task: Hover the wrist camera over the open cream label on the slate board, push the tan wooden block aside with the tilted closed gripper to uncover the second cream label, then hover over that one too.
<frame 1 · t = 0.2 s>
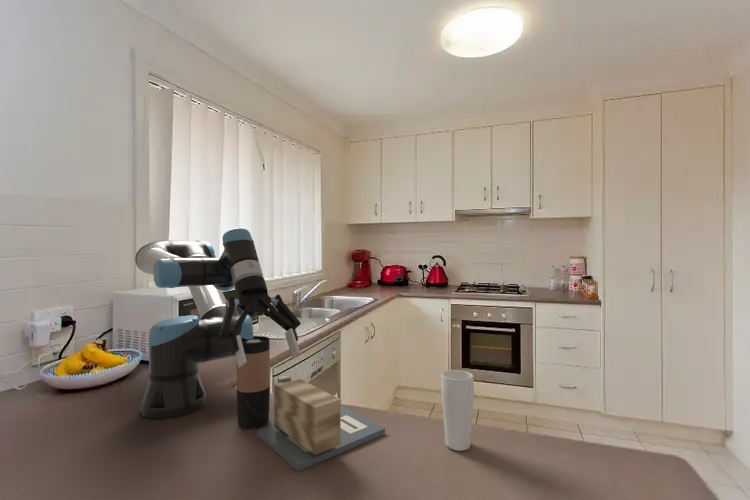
hand: (271, 360, 87), 16 cm above the countertop, tool tilted 35°, fingers open, 13 cm apart
label board: (321, 434, 84), on the countertop
tan wooden block: (302, 409, 80), point 7 cm above the countertop, hinge at 0.0°
drinking glass: (457, 446, 79), on the countertop
travel mug: (253, 423, 90), on the countertop
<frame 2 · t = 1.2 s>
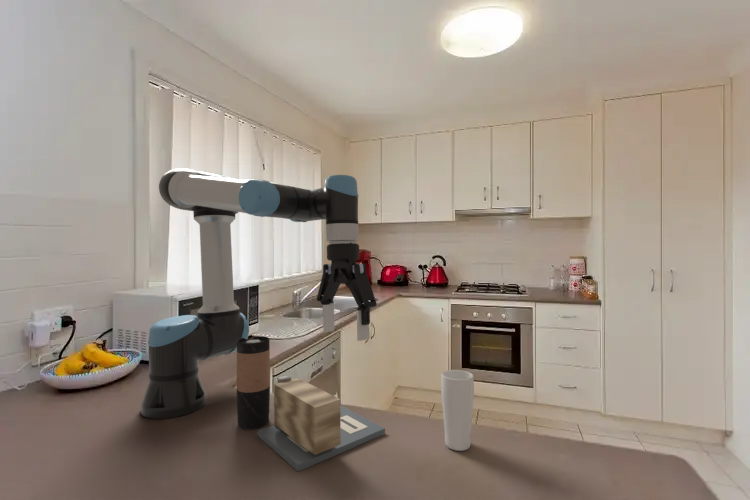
hand: (345, 335, 86), 22 cm above the countertop, tool pointing down, fingers open, 13 cm apart
nothing on the countertop moved.
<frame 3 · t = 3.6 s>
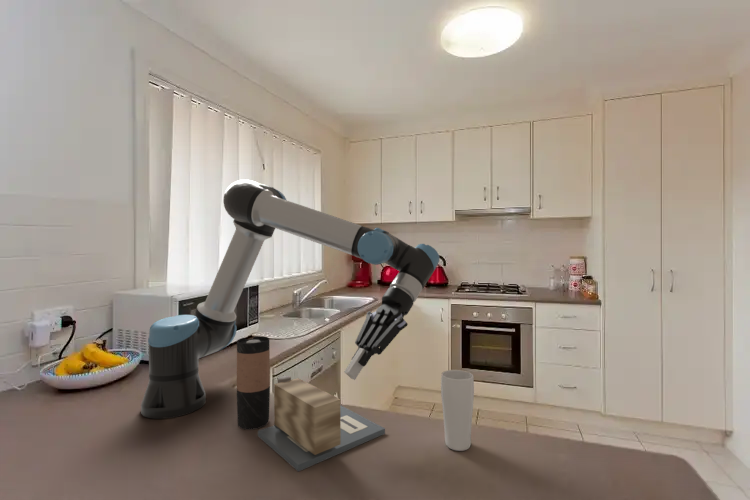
hand: (349, 375, 84), 13 cm above the countertop, tool tilted 45°, fingers closed
nothing on the countertop moved.
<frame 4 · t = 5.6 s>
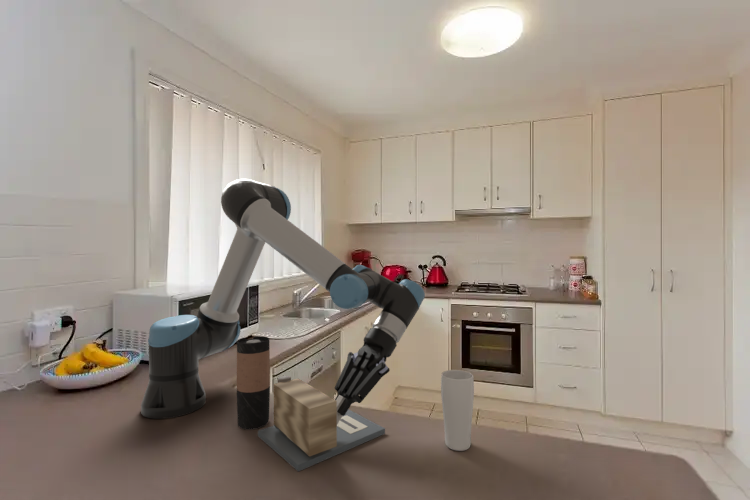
hand: (327, 426, 79), 4 cm above the countertop, tool tilted 45°, fingers closed
tan wooden block: (300, 410, 80), point 7 cm above the countertop, hinge at -3.3°, touching gripper
everything else where it was.
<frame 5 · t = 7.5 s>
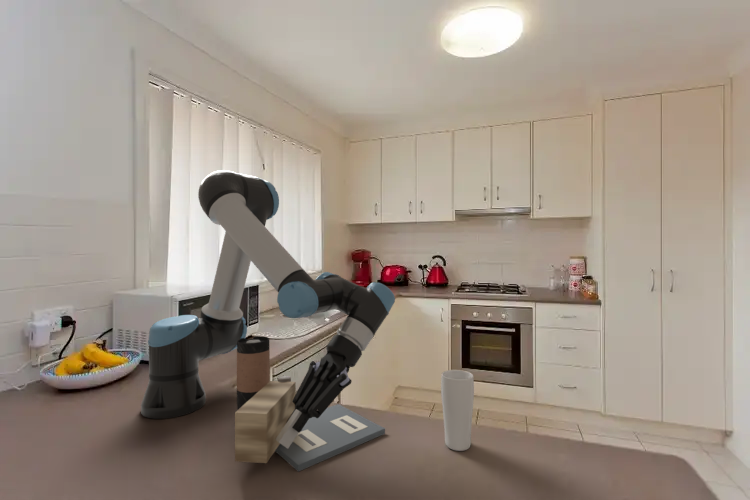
hand: (281, 444, 72), 4 cm above the countertop, tool tilted 45°, fingers closed
tan wooden block: (270, 413, 78), point 7 cm above the countertop, hinge at -47.0°, touching gripper
everything else where it was.
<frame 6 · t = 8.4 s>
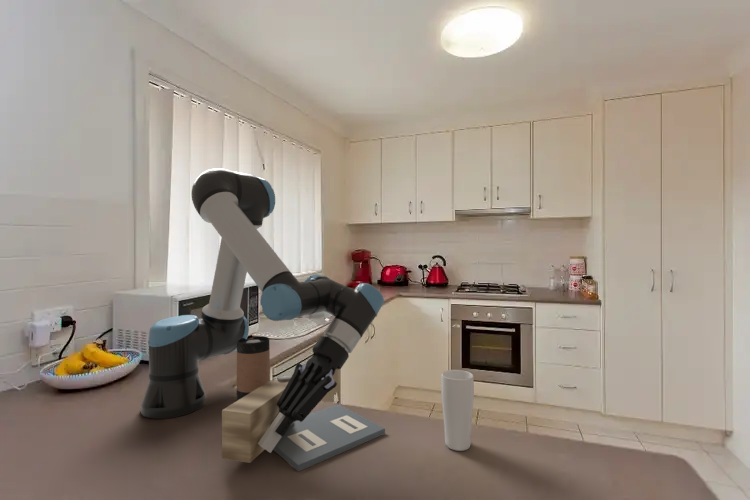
hand: (264, 448, 71), 4 cm above the countertop, tool tilted 45°, fingers closed
tan wooden block: (264, 413, 79), point 7 cm above the countertop, hinge at -56.5°, touching gripper
everything else where it was.
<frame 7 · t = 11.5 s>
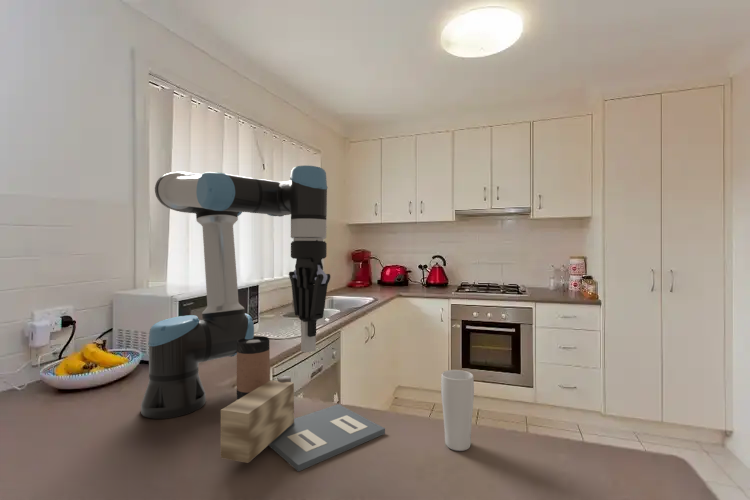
hand: (308, 350, 80), 20 cm above the countertop, tool pointing down, fingers closed
tan wooden block: (264, 413, 79), point 7 cm above the countertop, hinge at -57.5°
everything else where it was.
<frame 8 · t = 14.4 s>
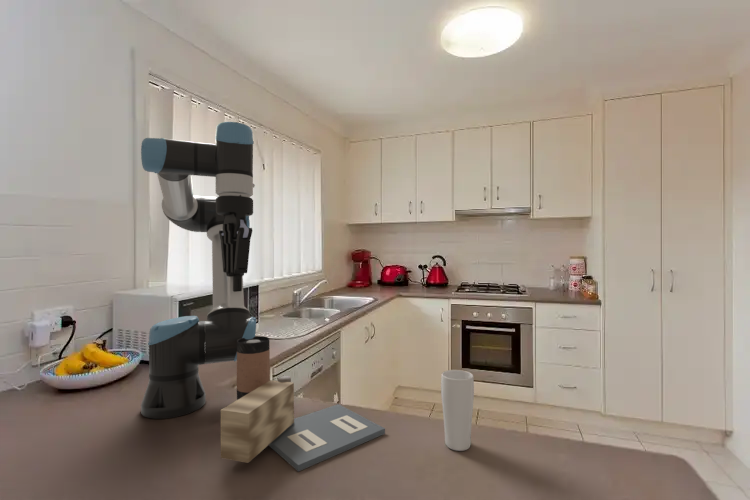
hand: (235, 306, 80), 29 cm above the countertop, tool pointing down, fingers closed
nothing on the countertop moved.
at the end: tan wooden block at -58° (first picture: +0°); travel mug moved 0.2 cm from its start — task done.
